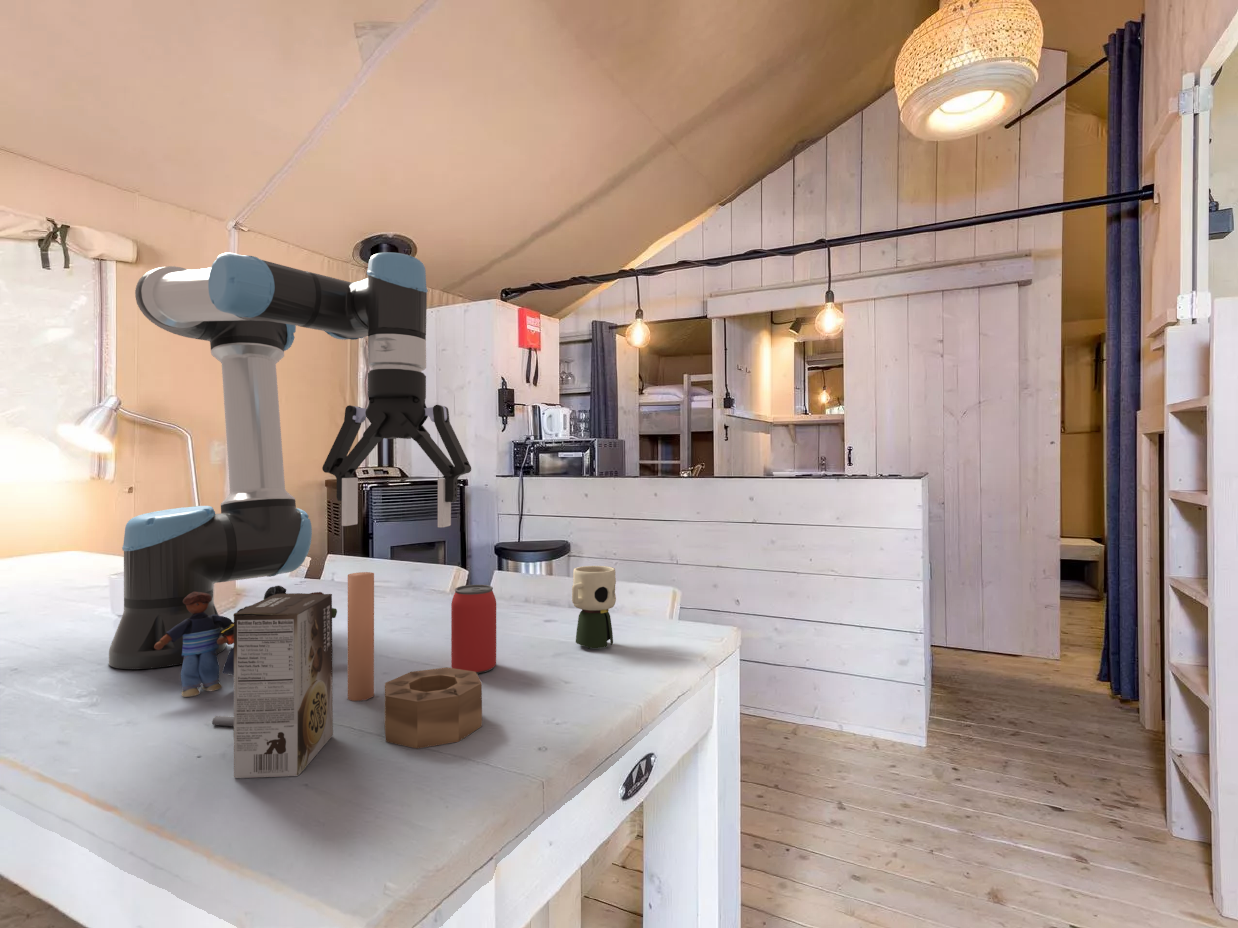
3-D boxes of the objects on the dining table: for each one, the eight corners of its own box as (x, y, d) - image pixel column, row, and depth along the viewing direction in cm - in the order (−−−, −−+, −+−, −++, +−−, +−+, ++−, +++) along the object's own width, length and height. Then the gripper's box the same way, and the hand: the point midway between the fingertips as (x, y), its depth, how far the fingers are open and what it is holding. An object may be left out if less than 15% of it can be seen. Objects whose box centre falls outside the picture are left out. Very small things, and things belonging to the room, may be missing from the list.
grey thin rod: (211, 726, 71) (212, 717, 71) (218, 722, 72) (218, 714, 72) (295, 731, 70) (295, 722, 70) (301, 727, 71) (301, 718, 71)
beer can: (485, 677, 88) (485, 593, 88) (442, 674, 89) (443, 591, 89) (503, 662, 94) (503, 584, 95) (463, 660, 96) (463, 583, 96)
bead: (364, 736, 68) (364, 691, 69) (427, 703, 78) (427, 664, 78) (440, 753, 65) (440, 705, 65) (496, 716, 74) (496, 674, 74)
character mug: (590, 658, 97) (590, 575, 97) (556, 650, 101) (556, 571, 101) (630, 642, 105) (630, 566, 105) (598, 635, 110) (598, 562, 110)
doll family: (195, 711, 76) (195, 603, 76) (147, 701, 79) (147, 597, 79) (341, 657, 98) (341, 573, 98) (298, 651, 101) (299, 569, 101)
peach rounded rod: (341, 698, 80) (342, 575, 80) (360, 690, 83) (361, 571, 83) (360, 702, 79) (360, 577, 79) (379, 693, 82) (379, 573, 82)
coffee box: (274, 738, 68) (274, 592, 68) (334, 736, 69) (334, 591, 69) (229, 780, 59) (230, 612, 59) (299, 777, 60) (299, 610, 60)
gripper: (294, 367, 82) (294, 527, 82) (475, 365, 79) (475, 530, 79) (327, 375, 89) (327, 521, 89) (494, 373, 87) (493, 524, 87)
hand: (396, 526), depth 84 cm, fingers open, 13 cm apart
